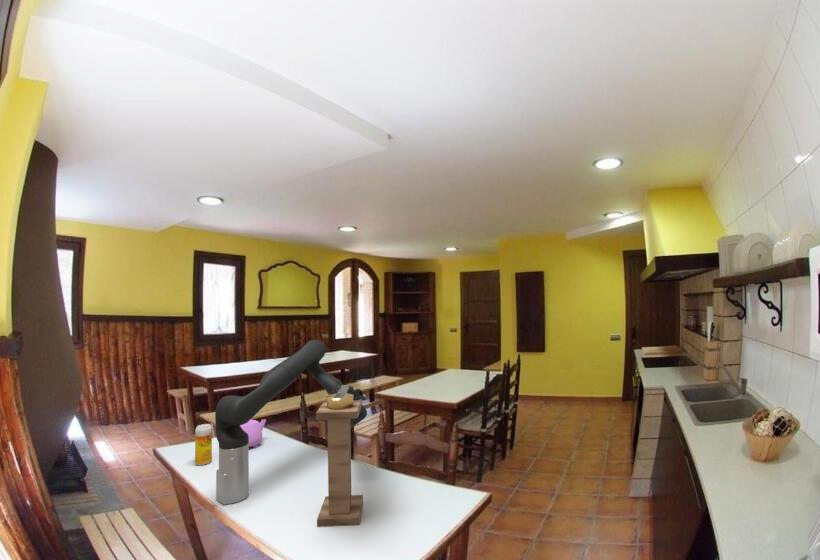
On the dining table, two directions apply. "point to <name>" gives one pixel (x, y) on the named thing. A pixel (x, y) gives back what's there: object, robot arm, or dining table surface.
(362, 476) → the dining table surface
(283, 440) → the dining table surface
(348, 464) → the wooden stand
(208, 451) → the beer can
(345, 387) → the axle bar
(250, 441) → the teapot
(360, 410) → the robot arm
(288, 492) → the dining table surface
